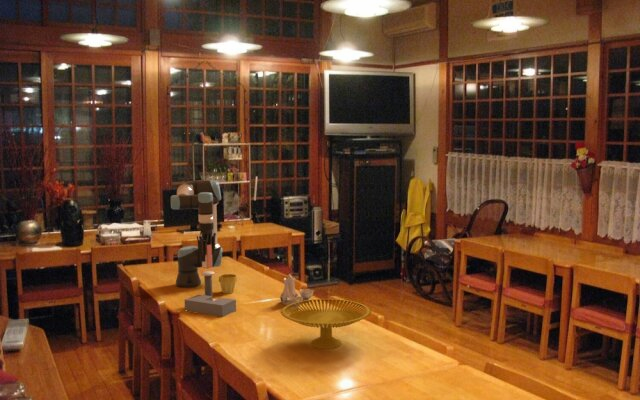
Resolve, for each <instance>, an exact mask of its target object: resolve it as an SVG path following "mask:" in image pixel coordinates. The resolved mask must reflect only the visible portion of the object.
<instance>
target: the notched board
mask: <svg viewBox="0 0 640 400" xmlns="http://www.w3.org/2000/svg"><path fill="white" fill-rule="evenodd" d="M213 299H214V297H213V295H212V296H206V295H205V294H196V295H194V296H192V297H191V296H190V297H188V298H185V299H184V311H185V310H187V311H186V312H188V311H191V312H190V313H194V312H196V313H195V314H201V315H206V316H207V315H208V316H215V317H219V318H221V317H225V316H229V315H230V314H232V313H235V312H236V311H237V300H236V299H235V298H228V297H227V298H226V297H220V298H216V300H214V301H213Z"/></svg>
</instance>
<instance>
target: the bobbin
mask: <svg viewBox="0 0 640 400" xmlns="http://www.w3.org/2000/svg"><path fill="white" fill-rule="evenodd" d="M215 274H216V273H215V271H213V270H205V271H201V276H204V277H203V278H204V295H206V296H213V276H214V275H215ZM214 300H217V298H216V299H215V298H213V301H214Z"/></svg>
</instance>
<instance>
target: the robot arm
mask: <svg viewBox="0 0 640 400" xmlns="http://www.w3.org/2000/svg"><path fill="white" fill-rule="evenodd" d="M221 200H222V195H221V187H220V183H219V181H218V180H215V179H214V180H212V179H207V180H190V181H186V182H184V183H181V184H180V185H179V186H178V187H177V190H176V194H174V195H171V196H170V208H171V209H172V210H198V222H199V223H198V230H199V231H200V232H199V235H196V240H197V245H188V246H184V247H180V248H179V249H178V250H177V271H178V272H177V276H176V280H175V287H177V288H183V289H184V288H196V287H200V286H202V280H201V276H200V274H199V268H202V267H203V268H202V269H207V255H206V246H207V244H208V245H211V247H212V268H218V267H220V266H221V265H222V260H223V247H221V244H220V243H219V242H218V222H217V221H218V219H217V218H218V215H217V214H218V213H217V211H218V210H217V205H218V204H220V203H219V202H220V201H221Z"/></svg>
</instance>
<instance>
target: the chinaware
mask: <svg viewBox="0 0 640 400" xmlns="http://www.w3.org/2000/svg"><path fill="white" fill-rule="evenodd" d="M295 281H296V278H295V277H293V276H292V275H291V274H290V273H289V274H288V275H287V276H286V277H284V278H283V282H284V283H283V284H284V286H283V290H282V293H281V294H280V296H279V299H280V301H281V304H282V305H285V306H286V305H289V304H291V303H294V302H298V304H299V305H300V306H301V304H300V303H299V302H300V301H304V300H311V298H312V297H313V294H314V292H315V290H314V289H311V288H305V289H303V288H302V289H299V290H298V292H297V291H296V288H295ZM298 293H299V294H298ZM301 303H302V304H303V302H301ZM295 304H296V303H295ZM292 305H293V304H292ZM290 306H291V305H290ZM293 306H294V305H293ZM296 306H297V307H298V308H300V307H299V306H298V305H297V304H296ZM291 307H292V306H291ZM294 307H295V306H294ZM289 308H290V307H289ZM292 308H293V307H292ZM295 308H296V307H295ZM290 309H291V308H290ZM293 309H294V308H293ZM296 309H297V308H296ZM296 309H294V310H296Z"/></svg>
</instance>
